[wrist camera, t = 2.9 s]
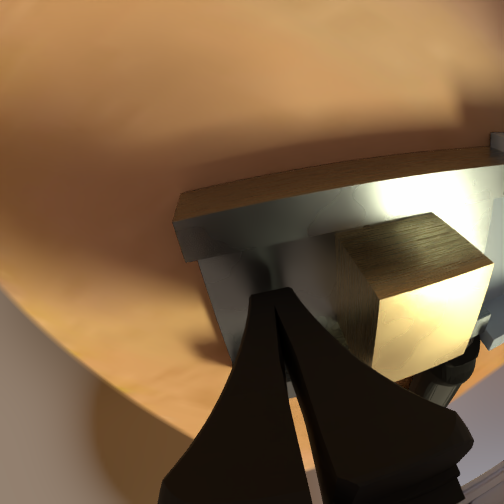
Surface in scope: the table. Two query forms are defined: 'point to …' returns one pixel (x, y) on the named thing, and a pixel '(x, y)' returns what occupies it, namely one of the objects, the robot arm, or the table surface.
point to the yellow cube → (408, 293)
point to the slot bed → (324, 225)
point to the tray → (495, 266)
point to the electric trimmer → (446, 376)
